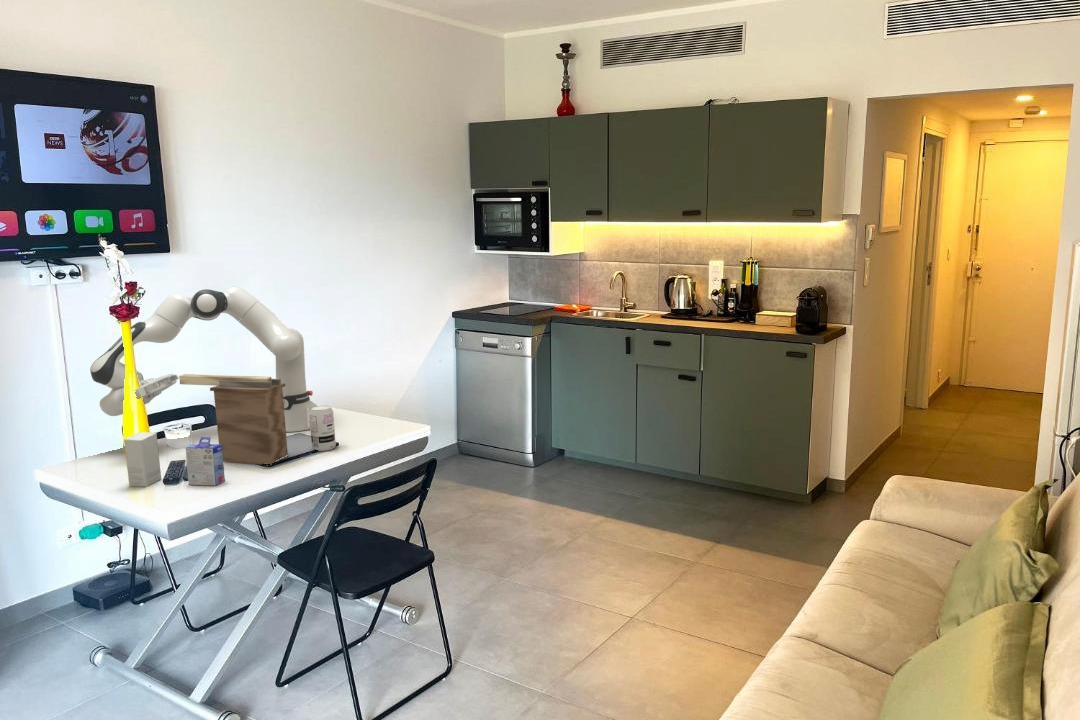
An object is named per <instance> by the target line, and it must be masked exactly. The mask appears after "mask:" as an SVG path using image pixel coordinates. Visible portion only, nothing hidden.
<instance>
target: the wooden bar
mask: <svg viewBox="0 0 1080 720" xmlns="http://www.w3.org/2000/svg"><path fill="white" fill-rule="evenodd" d="M178 379H179V385H184V386H185V385H190V386H193V385H194V386H196V385H197V386H213V387H215V386H220V384H219V381H220V380H227V381H259V382H272V379H273V378H272V376H260V375H259V376H256V375H227V374H225V375H223V374H221V375H220V374H218V375H217V374H195V373H194V374H191V373H190V374H188V373H186V374H182V375H179V376H178Z"/></svg>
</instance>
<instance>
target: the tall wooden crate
mask: <svg viewBox="0 0 1080 720" xmlns="http://www.w3.org/2000/svg"><path fill="white" fill-rule="evenodd" d="M219 384H220V386H212V387H209V391H210V392H213V398H214V407H215V418H216V429H217V438H218V439H217V440H218V444H222V453H223V463H229V464H230V463H231V464H246V465H248V464H249V465H262V464H263V463H265V464H266V463H267V464H270V465H269V466H273V465H272V463H274V462H275V461H276V460H278V459H280V458H282V457H285V456H286V455H288V456H289V452H288V440H287V432H286V427H285V415H284V403H283V391H282V387H285V383H281V379H276V378H272V382H259V381H227V380H220V381H219Z"/></svg>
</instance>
